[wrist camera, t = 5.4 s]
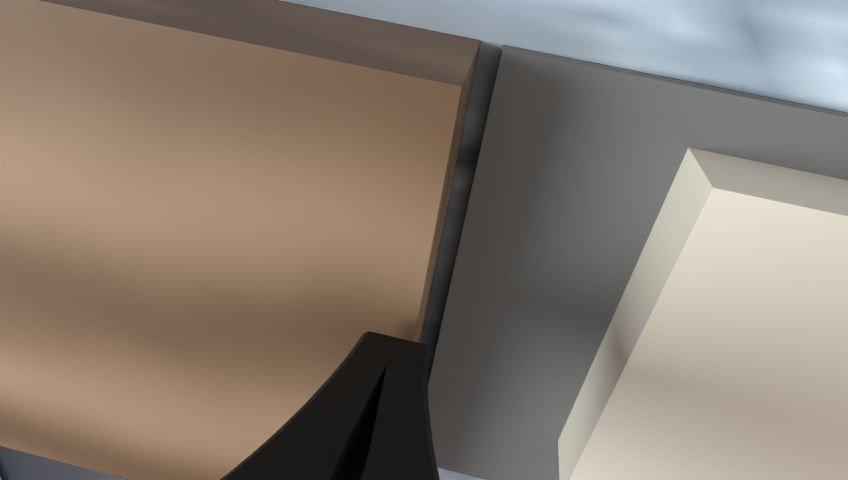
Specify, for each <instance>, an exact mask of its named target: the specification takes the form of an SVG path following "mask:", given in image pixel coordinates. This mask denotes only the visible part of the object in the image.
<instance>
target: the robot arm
mask: <svg viewBox="0 0 848 480" xmlns="http://www.w3.org/2000/svg"><path fill="white" fill-rule="evenodd" d="M429 354H430V349H429V348H428V347H427V345H426V344H422V343H417V342H413V341H409V340H405V339H400V338H396V337H392V336H388V335H384V334H379V333H375V332H371V331H368V332H366V333H364V334H362V336H361V337H360V339H359V340H358V342H357V343H356V345H355V346H354V347H353V349H352V350H351V352H350V353H349V354H348V355H347V357H346V358H345V359H344V360H343V362H342V363H341V364H340V365H339V367H338V368H337V369H336V370H335V371H334V372H333V374H332V375H331V376H330V377H329V378H328V379H327V380H326V382H325V383H324V384H323V385H322V386H321V387H320V388H319V389H318V390H317V391H316V392H315V394H314V395H313V396H312V397H311V398H310V399H309V400H308V401H307V402H306V403H305V404H304V405H303V406H302V407H301V408H300V409H299V410H298V411H297V412H296V413H295V414H294V415H293V416H292V417H291V418H290V419H289V420H288V421H287V422H286V423H285V424H284V425H283V426H282V427H281V428H280V429H279V430H278V431H277V432H276V433H274V434H273V435H272V436H271V437H270V438H269V439H268V440H267V441H266V442H265V443H263V444H262V445H261V446H260V447H259V448H258V449H257V450H255V451H254V452H253V453H252V454H251V455H250V456H248V457H247V458H246V459H245V460H244V461H242V462H241V463H240V464H239V465H238V466H236V467H235V468H234V469H233V470H231V471H230V472H229V473H228V474H226V475H225V476H224V477H222V478H221V479H220V480H439V475H438V469H437V464H436V459H435V453H434V446H433V440H432V432H431V423H430V415H429V404H428V360H429ZM0 480H2V479H1V477H0Z"/></svg>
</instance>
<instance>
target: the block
mask: <svg viewBox="0 0 848 480" xmlns="http://www.w3.org/2000/svg"><path fill="white" fill-rule="evenodd" d="M558 454H559V480H848V180H843V179H839V178H834V177H829V176H824V175H819V174H815V173H810V172H805V171H800V170H795V169H791V168H786V167H781V166H776V165H771V164H766V163H762V162H757V161H752V160H747V159H742V158H738V157H733V156H728V155H723V154H718V153H713V152H709V151H704V150H699V149H694V148H689V147H688V149H687V152H686V154H685V156H684V158H683V161H682V163H681V165H680V167H679V170H678V172H677V174H676V176H675V179H674V181H673V183H672V185H671V188H670V190H669V192H668V194H667V197H666V199H665V201H664V203H663V206H662V208H661V210H660V212H659V215H658V217H657V219H656V221H655V224H654V226H653V228H652V230H651V233H650V235H649V237H648V239H647V242H646V244H645V246H644V248H643V251H642V253H641V255H640V257H639V260H638V262H637V264H636V266H635V269H634V271H633V273H632V275H631V278H630V280H629V282H628V284H627V287H626V289H625V291H624V293H623V296H622V298H621V300H620V302H619V305H618V307H617V309H616V311H615V314H614V316H613V318H612V320H611V323H610V325H609V327H608V329H607V332H606V334H605V336H604V338H603V340H602V343H601V345H600V347H599V349H598V352H597V354H596V356H595V358H594V361H593V363H592V365H591V367H590V370H589V372H588V374H587V376H586V379H585V381H584V383H583V385H582V388H581V390H580V392H579V394H578V397H577V399H576V401H575V403H574V406H573V408H572V410H571V412H570V415H569V417H568V419H567V421H566V424H565V426H564V428H563V430H562V433H561V435H560V437H559V439H558Z"/></svg>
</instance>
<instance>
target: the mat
mask: <svg viewBox="0 0 848 480" xmlns="http://www.w3.org/2000/svg"><path fill="white" fill-rule="evenodd" d="M688 147H689V148H694V149H699V150H704V151H709V152H713V153H718V154H723V155H728V156H733V157H738V158H742V159H747V160H752V161H757V162H762V163H766V164H771V165H776V166H781V167H786V168H791V169H795V170H800V171H805V172H810V173H815V174H819V175H824V176H829V177H834V178H839V179H843V180H848V113H845V112H840V111H835V110H830V109H824V108H819V107H814V106H809V105H804V104H799V103H794V102H789V101H784V100H779V99H774V98H769V97H764V96H759V95H754V94H749V93H743V92H738V91H733V90H728V89H723V88H718V87H713V86H708V85H703V84H698V83H693V82H688V81H683V80H678V79H673V78H667V77H662V76H657V75H652V74H647V73H642V72H637V71H632V70H627V69H622V68H617V67H612V66H607V65H602V64H597V63H592V62H586V61H581V60H576V59H571V58H566V57H561V56H556V55H551V54H546V53H541V52H536V51H531V50H526V49H521V48H516V47H511V46H505V45H503V49H502V54H501V58H500V63H499V67H498V72H497V76H496V81H495V85H494V90H493V94H492V99H491V103H490V108H489V112H488V117H487V121H486V126H485V130H484V135H483V139H482V144H481V148H480V153H479V157H478V162H477V166H476V171H475V175H474V180H473V185H472V189H471V194H470V198H469V203H468V207H467V212H466V216H465V221H464V225H463V230H462V234H461V239H460V243H459V248H458V252H457V257H456V261H455V266H454V270H453V275H452V279H451V284H450V288H449V293H448V297H447V302H446V306H445V311H444V315H443V320H442V325H441V329H440V334H439V338H438V343H437V347H436V352H435V356H434V361H433V365H432V370H431V374H430V379H429V383H428V404H429V415H430V423H431V432H432V440H433V446H434V453H435V459H436V464H437V467H439V468H443V469H447V470H451V471H455V472H459V473H463V474H466V475H470V476H474V477H478V478H482V479H486V480H559V454H558V439H559V437H560V435H561V433H562V430H563V428H564V426H565V424H566V421H567V419H568V417H569V415H570V412H571V410H572V408H573V406H574V403H575V401H576V399H577V397H578V394H579V392H580V390H581V388H582V385H583V383H584V381H585V379H586V376H587V374H588V372H589V370H590V367H591V365H592V363H593V361H594V358H595V356H596V354H597V352H598V349H599V347H600V345H601V343H602V340H603V338H604V336H605V334H606V332H607V329H608V327H609V325H610V323H611V320H612V318H613V316H614V314H615V311H616V309H617V307H618V305H619V302H620V300H621V298H622V296H623V293H624V291H625V289H626V287H627V284H628V282H629V280H630V278H631V275H632V273H633V271H634V269H635V266H636V264H637V262H638V260H639V257H640V255H641V253H642V251H643V248H644V246H645V244H646V242H647V239H648V237H649V235H650V233H651V230H652V228H653V226H654V224H655V221H656V219H657V217H658V215H659V212H660V210H661V208H662V206H663V203H664V201H665V199H666V197H667V194H668V192H669V190H670V188H671V185H672V183H673V181H674V179H675V176H676V174H677V172H678V170H679V167H680V165H681V163H682V161H683V158H684V156H685V154H686V152H687V149H688Z"/></svg>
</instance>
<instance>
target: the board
mask: <svg viewBox="0 0 848 480" xmlns="http://www.w3.org/2000/svg"><path fill="white" fill-rule="evenodd" d="M479 46H480V40H475V39H470V38H465V37H460V36H455V35H450V34H445V33H440V32H435V31H429V30H424V29H419V28H414V27H409V26H404V25H399V24H394V23H389V22H384V21H379V20H374V19H369V18H364V17H359V16H354V15H348V14H343V13H338V12H333V11H328V10H323V9H318V8H313V7H308V6H303V5H298V4H293V3H288V2H283V1H278V0H0V446H2V447H6V448H10V449H13V450H17V451H21V452H25V453H29V454H32V455H36V456H40V457H44V458H48V459H51V460H55V461H59V462H63V463H67V464H70V465H74V466H78V467H82V468H86V469H89V470H93V471H97V472H101V473H105V474H108V475H112V476H116V477H120V478H124V479H127V480H220V479H221V478H222V477H224V476H225V475H226V474H228V473H229V472H230V471H231V470H233V469H234V468H235V467H236V466H238V465H239V464H240V463H241V462H242V461H244V460H245V459H246V458H247V457H248V456H250V455H251V454H252V453H253V452H254V451H255V450H257V449H258V448H259V447H260V446H261V445H262V444H263V443H265V442H266V441H267V440H268V439H269V438H270V437H271V436H272V435H273V434H274V433H276V432H277V431H278V430H279V429H280V428H281V427H282V426H283V425H284V424H285V423H286V422H287V421H288V420H289V419H290V418H291V417H292V416H293V415H294V414H295V413H296V412H297V411H298V410H299V409H300V408H301V407H302V406H303V405H304V404H305V403H306V402H307V401H308V400H309V399H310V398H311V397H312V396H313V395H314V394H315V392H316V391H317V390H318V389H319V388H320V387H321V386H322V385H323V384H324V383H325V382H326V380H327V379H328V378H329V377H330V376H331V375H332V374H333V372H334V371H335V370H336V369H337V368H338V367H339V365H340V364H341V363H342V362H343V360H344V359H345V358H346V357H347V355H348V354H349V353H350V352H351V350H352V349H353V347H354V346H355V345H356V343H357V342H358V340H359V339H360V337H361V336H362V334H364V333H366V332H368V331H371V332H375V333H379V334H384V335H388V336H392V337H396V338H400V339H405V340H409V341H413V342H417V343H421V338H422V333H423V328H424V323H425V318H426V313H427V308H428V303H429V298H430V293H431V288H432V283H433V278H434V273H435V268H436V263H437V258H438V253H439V248H440V242H441V237H442V232H443V227H444V222H445V217H446V212H447V207H448V202H449V197H450V192H451V187H452V182H453V177H454V172H455V167H456V162H457V157H458V152H459V147H460V142H461V137H462V132H463V127H464V122H465V117H466V112H467V107H468V102H469V97H470V92H471V87H472V82H473V76H474V71H475V66H476V61H477V56H478V51H479Z"/></svg>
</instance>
